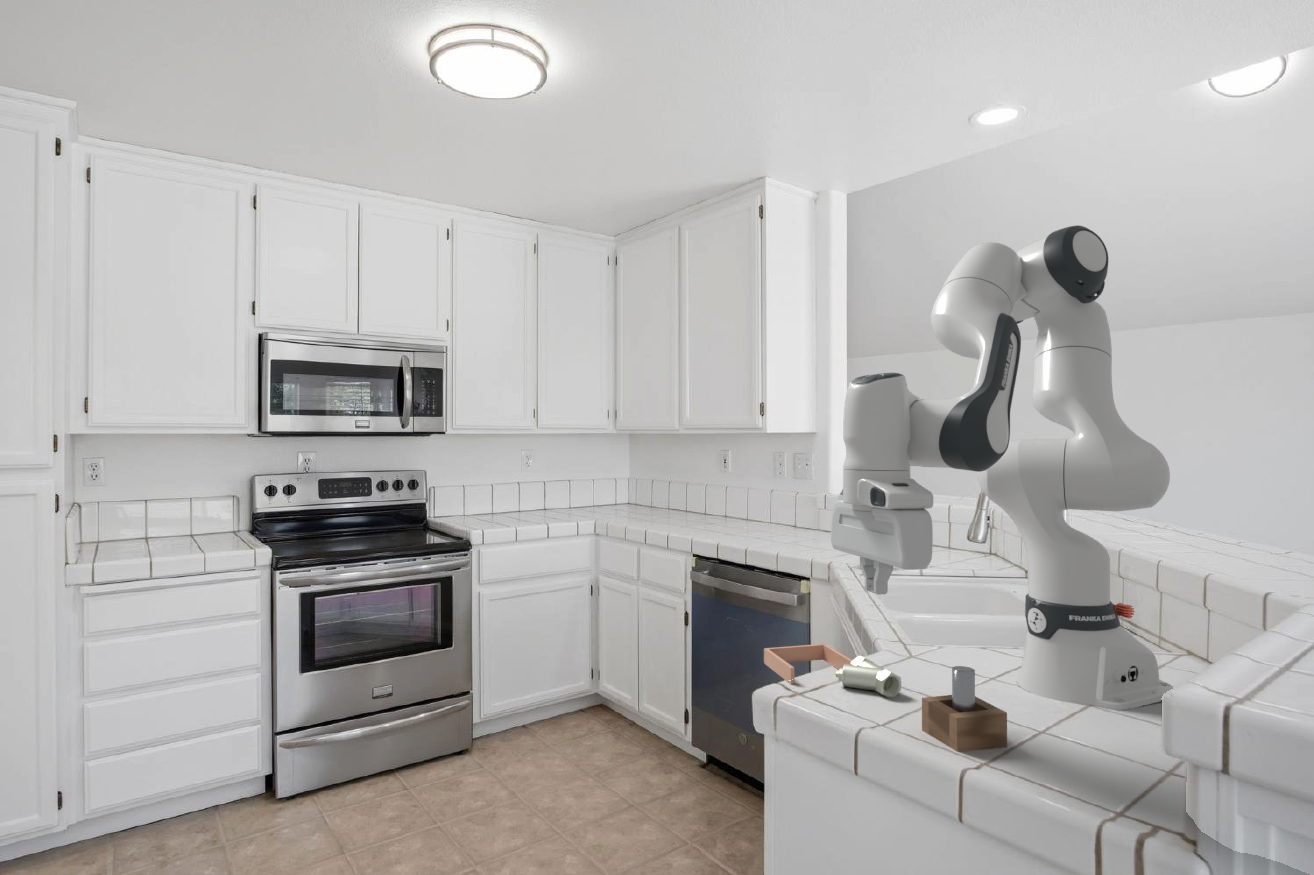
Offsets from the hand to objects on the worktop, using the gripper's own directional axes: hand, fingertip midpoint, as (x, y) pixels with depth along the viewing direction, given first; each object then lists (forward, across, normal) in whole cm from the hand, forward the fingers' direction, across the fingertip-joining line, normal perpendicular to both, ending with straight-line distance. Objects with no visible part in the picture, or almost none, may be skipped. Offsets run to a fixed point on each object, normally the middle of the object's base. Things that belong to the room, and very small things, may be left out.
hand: (876, 592), depth 99 cm
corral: (+17, -20, 0) cm, 26 cm away
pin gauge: (+17, +10, +6) cm, 21 cm away
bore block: (+17, +10, +6) cm, 21 cm away
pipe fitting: (+15, -10, +1) cm, 18 cm away
